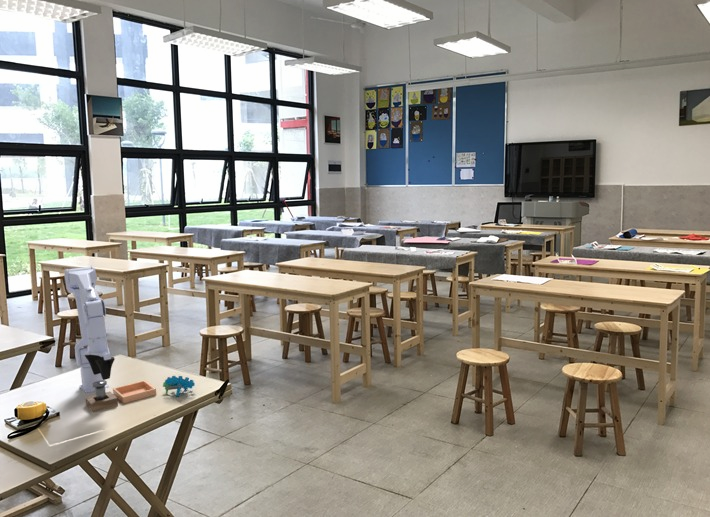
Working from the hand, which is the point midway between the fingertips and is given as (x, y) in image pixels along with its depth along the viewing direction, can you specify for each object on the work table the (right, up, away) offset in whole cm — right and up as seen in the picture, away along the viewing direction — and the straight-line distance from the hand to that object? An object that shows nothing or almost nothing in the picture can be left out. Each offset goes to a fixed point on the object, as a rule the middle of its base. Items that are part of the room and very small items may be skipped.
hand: (101, 376), depth 200 cm
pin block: (0, -10, +2) cm, 10 cm away
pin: (-1, -10, +2) cm, 10 cm away
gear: (+23, -8, +11) cm, 26 cm away
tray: (+7, -9, +10) cm, 15 cm away
